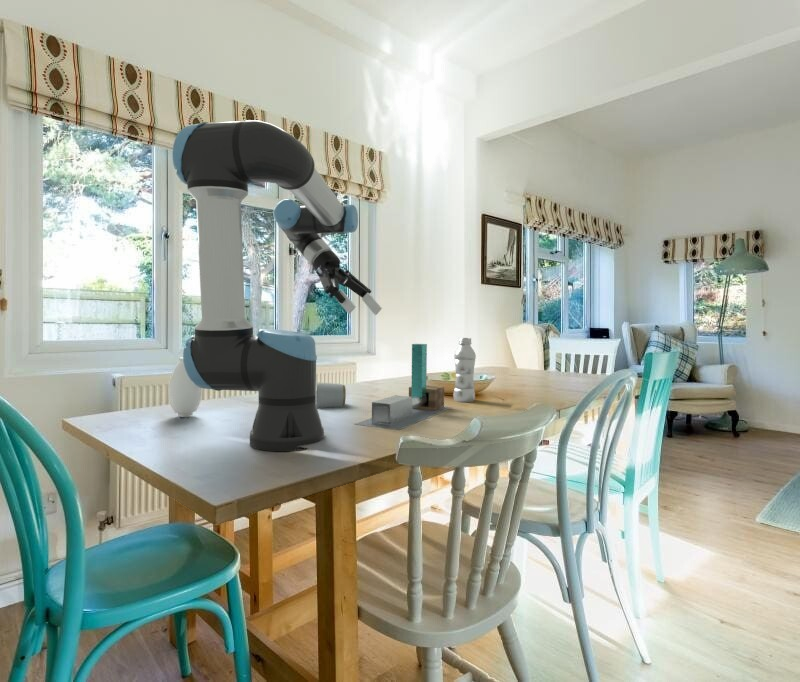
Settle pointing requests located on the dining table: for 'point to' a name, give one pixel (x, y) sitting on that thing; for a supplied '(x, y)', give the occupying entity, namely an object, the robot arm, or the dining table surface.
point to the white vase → (183, 392)
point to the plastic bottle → (464, 371)
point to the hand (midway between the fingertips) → (366, 311)
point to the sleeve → (391, 410)
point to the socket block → (432, 398)
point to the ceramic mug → (330, 395)
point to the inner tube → (419, 375)
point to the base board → (416, 417)
